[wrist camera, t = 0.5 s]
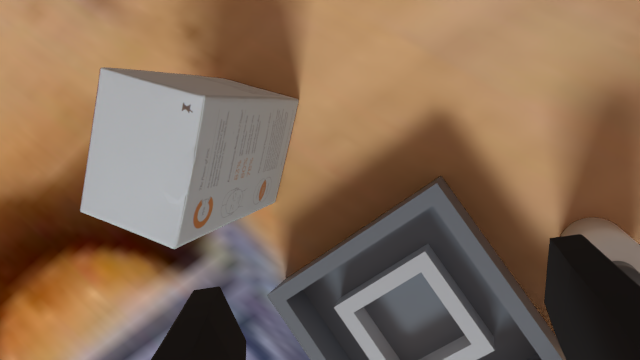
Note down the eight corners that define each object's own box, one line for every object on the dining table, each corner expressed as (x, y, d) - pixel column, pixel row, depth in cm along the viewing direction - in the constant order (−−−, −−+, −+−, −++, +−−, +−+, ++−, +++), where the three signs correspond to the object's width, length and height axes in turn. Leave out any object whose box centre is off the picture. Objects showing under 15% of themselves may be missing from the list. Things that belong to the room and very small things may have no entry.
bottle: (643, 259, 31) (692, 304, 24) (582, 291, 32) (611, 343, 25) (603, 205, 31) (640, 233, 24) (544, 238, 32) (562, 275, 25)
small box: (223, 77, 38) (97, 62, 25) (301, 98, 36) (207, 93, 24) (202, 180, 39) (75, 213, 27) (276, 205, 38) (176, 252, 25)
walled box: (567, 352, 33) (576, 379, 29) (392, 436, 37) (383, 468, 34) (441, 175, 34) (436, 183, 30) (285, 279, 38) (267, 295, 35)
